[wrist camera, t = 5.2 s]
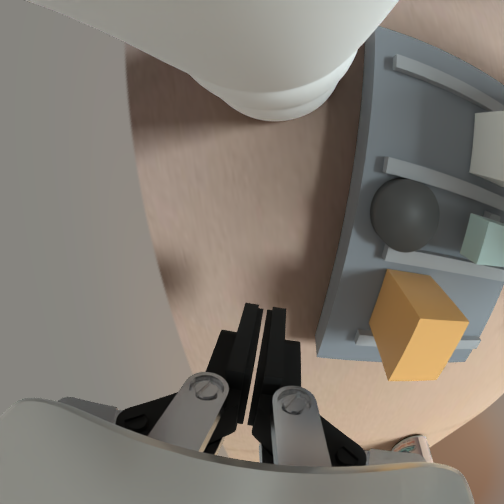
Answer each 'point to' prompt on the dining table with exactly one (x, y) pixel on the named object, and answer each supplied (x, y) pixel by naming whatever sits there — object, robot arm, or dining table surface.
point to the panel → (412, 192)
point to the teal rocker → (484, 241)
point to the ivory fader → (488, 147)
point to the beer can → (415, 446)
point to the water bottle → (243, 44)
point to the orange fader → (415, 326)
